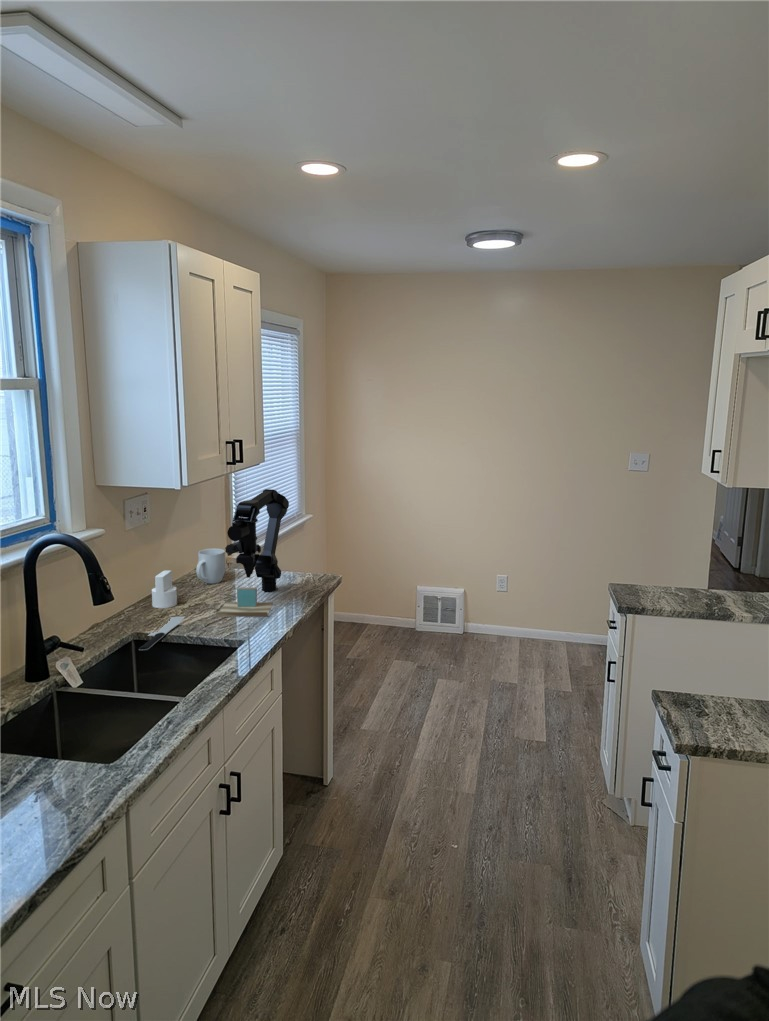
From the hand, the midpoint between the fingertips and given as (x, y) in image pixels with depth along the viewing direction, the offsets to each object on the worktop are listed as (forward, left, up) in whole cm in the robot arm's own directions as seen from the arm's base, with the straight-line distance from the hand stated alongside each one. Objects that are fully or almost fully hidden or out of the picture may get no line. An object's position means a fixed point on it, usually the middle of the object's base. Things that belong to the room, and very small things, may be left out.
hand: (249, 575), depth 258 cm
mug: (-28, -21, -11) cm, 37 cm away
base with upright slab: (+1, -32, -11) cm, 34 cm away
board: (+9, 0, -11) cm, 14 cm away
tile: (+6, 0, -10) cm, 12 cm away
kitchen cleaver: (+31, -25, -12) cm, 42 cm away
